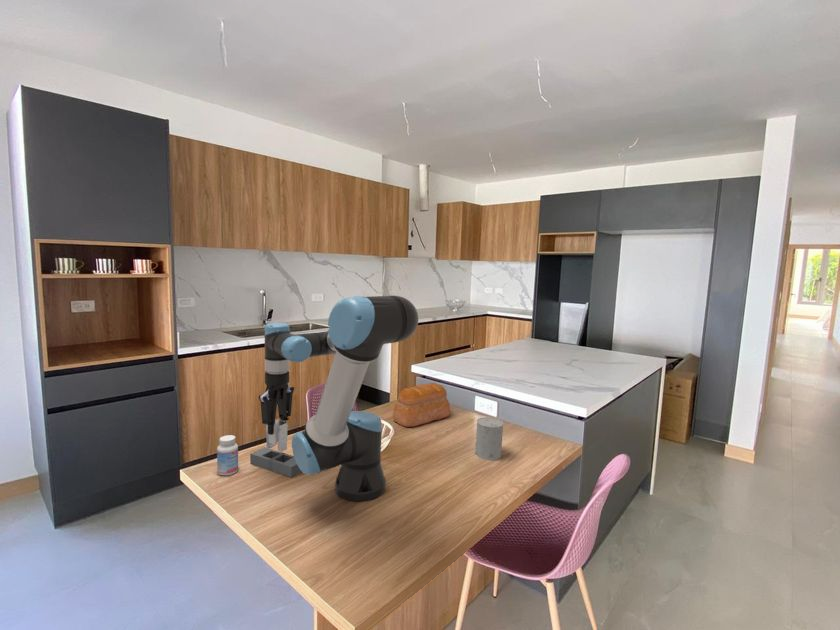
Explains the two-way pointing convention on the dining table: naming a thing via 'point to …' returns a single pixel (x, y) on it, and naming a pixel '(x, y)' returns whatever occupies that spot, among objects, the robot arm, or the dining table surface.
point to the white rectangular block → (279, 436)
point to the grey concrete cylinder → (489, 438)
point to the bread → (421, 405)
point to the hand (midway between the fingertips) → (276, 440)
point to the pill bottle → (227, 455)
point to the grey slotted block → (275, 461)
